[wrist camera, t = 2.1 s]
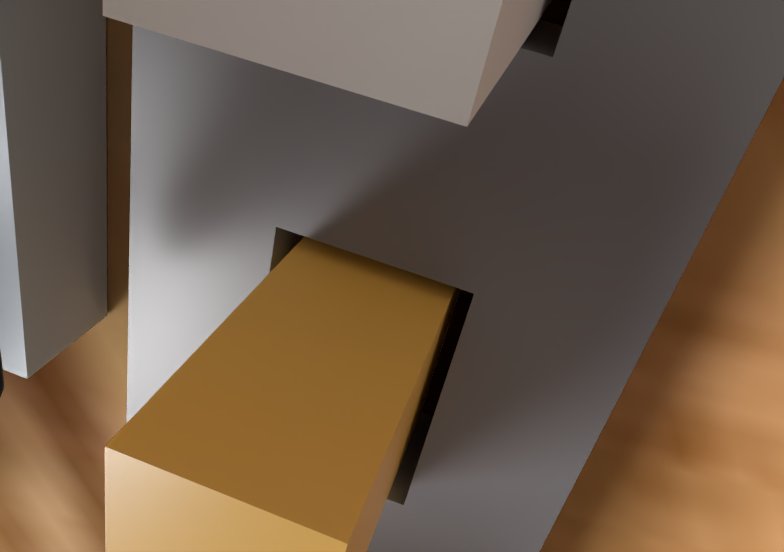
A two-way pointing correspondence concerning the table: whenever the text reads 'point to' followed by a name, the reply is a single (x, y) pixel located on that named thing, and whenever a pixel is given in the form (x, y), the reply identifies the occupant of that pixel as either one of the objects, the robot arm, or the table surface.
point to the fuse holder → (459, 228)
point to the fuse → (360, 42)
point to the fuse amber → (283, 414)
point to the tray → (51, 177)
